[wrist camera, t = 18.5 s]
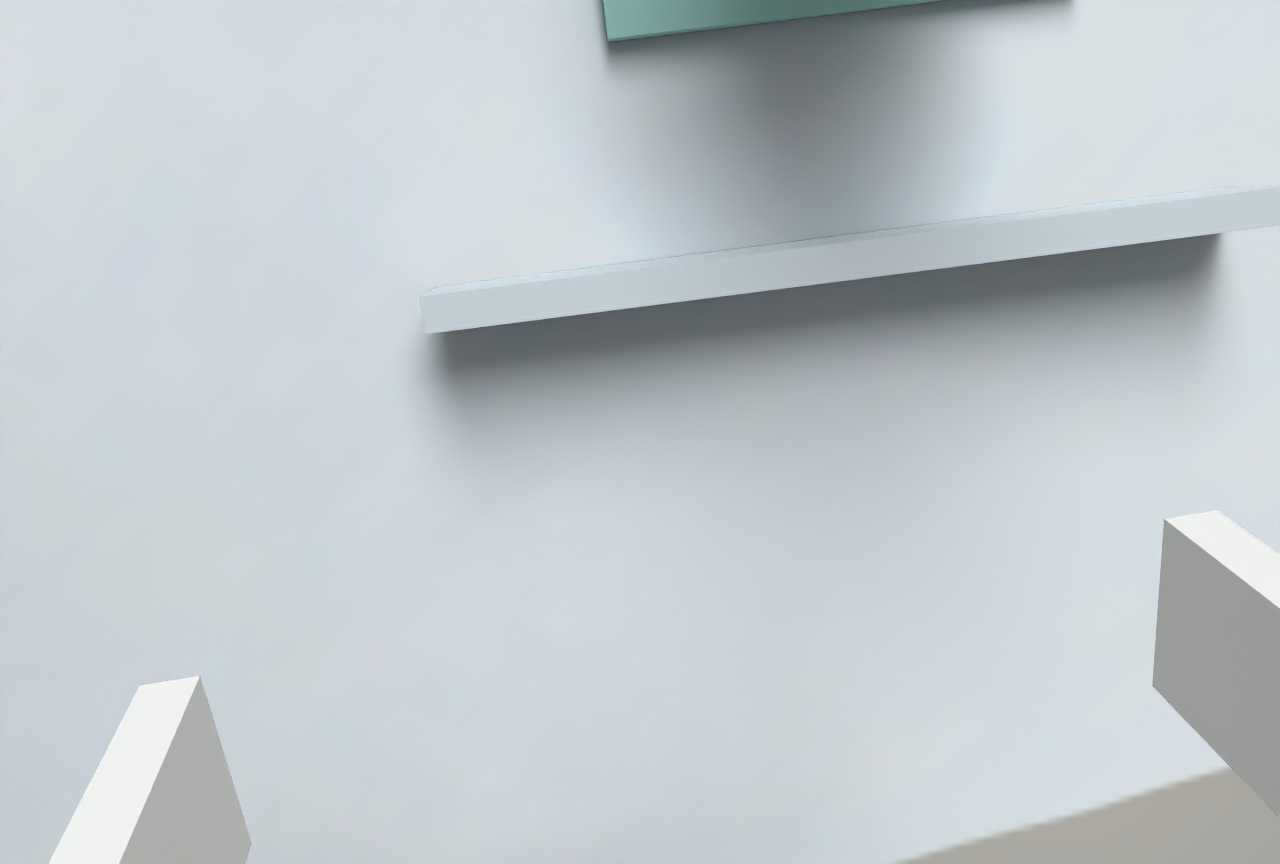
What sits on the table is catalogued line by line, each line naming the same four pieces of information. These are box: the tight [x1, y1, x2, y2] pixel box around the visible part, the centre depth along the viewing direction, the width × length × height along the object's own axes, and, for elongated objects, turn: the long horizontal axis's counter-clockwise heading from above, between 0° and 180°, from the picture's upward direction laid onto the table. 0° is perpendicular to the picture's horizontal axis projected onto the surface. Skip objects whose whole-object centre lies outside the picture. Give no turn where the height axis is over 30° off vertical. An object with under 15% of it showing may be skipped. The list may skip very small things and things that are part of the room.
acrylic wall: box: [419, 186, 1280, 334], centre depth 38 cm, size 28×1×4 cm, turn 97°
